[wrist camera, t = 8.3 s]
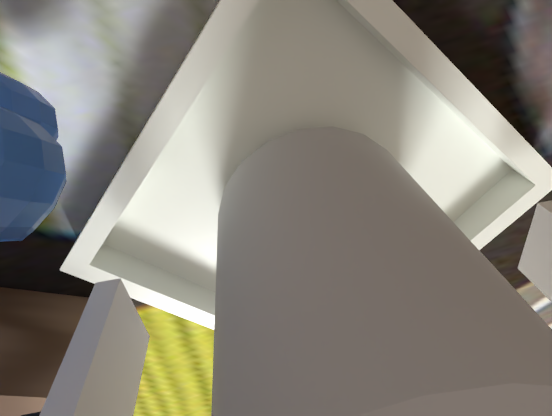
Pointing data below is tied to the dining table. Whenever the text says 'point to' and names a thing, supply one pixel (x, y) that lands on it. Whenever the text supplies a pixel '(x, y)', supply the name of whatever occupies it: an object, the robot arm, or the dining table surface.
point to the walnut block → (33, 345)
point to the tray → (287, 118)
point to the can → (361, 295)
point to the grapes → (27, 160)
